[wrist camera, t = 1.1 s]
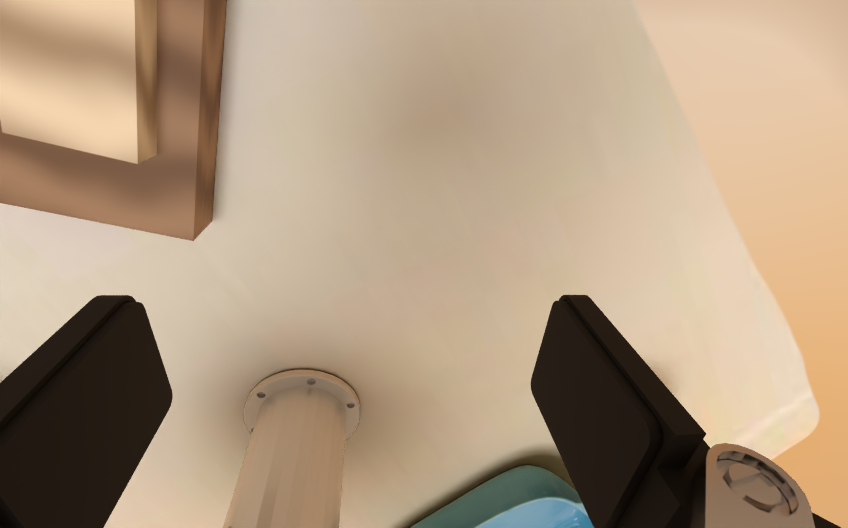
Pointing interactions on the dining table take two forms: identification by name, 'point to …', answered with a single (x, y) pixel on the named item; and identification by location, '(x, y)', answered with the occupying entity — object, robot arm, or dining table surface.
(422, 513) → the dining table surface
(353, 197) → the dining table surface
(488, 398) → the dining table surface
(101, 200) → the walnut deck
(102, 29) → the ash tile
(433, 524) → the casserole dish
